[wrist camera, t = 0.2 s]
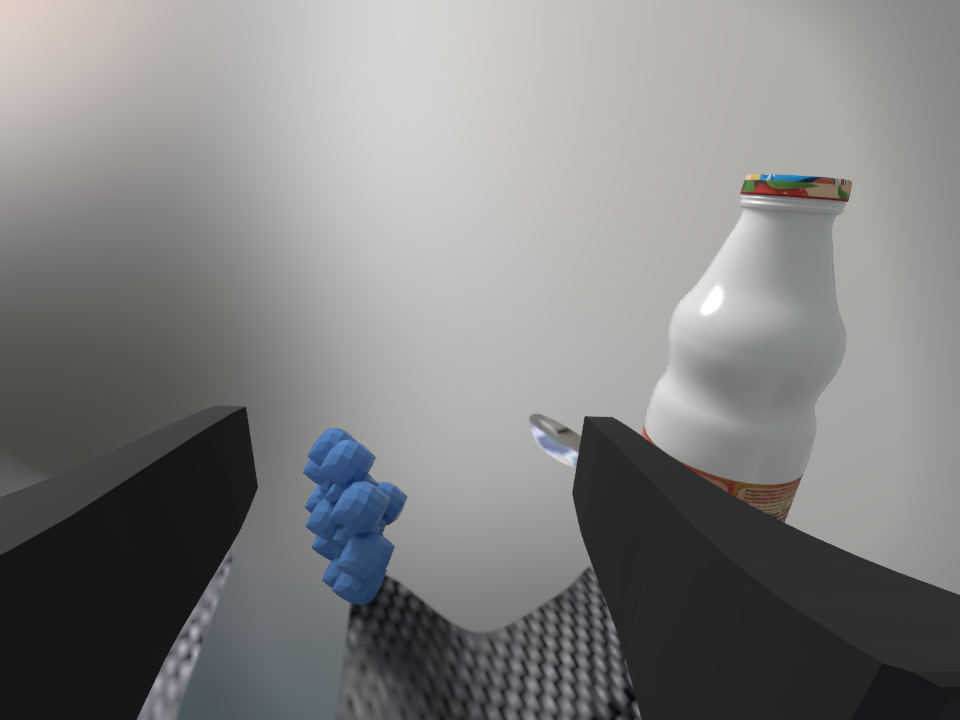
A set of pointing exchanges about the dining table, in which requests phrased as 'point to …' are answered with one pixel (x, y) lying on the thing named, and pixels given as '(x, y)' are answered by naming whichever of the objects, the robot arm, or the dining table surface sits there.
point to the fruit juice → (756, 345)
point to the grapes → (350, 515)
